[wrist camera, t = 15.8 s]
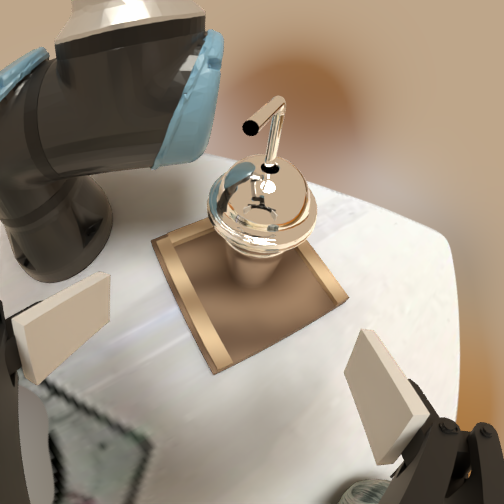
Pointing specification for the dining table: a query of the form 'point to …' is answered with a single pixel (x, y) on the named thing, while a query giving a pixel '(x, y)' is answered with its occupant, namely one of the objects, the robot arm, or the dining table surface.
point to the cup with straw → (261, 205)
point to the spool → (365, 492)
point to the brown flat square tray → (242, 294)
